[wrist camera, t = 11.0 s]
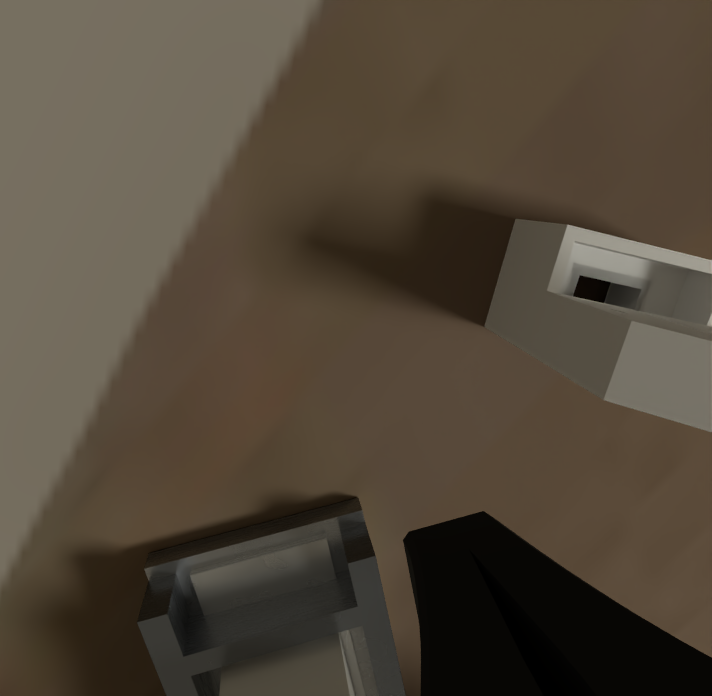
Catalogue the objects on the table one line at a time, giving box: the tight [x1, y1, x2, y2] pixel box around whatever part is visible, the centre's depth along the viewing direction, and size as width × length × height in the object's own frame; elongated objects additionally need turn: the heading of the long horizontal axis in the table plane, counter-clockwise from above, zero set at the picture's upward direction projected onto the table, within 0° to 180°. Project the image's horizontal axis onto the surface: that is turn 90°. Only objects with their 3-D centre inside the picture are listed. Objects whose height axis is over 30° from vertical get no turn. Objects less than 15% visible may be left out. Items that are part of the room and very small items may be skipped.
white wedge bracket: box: [484, 219, 712, 432], centre depth 15 cm, size 4×10×9 cm
